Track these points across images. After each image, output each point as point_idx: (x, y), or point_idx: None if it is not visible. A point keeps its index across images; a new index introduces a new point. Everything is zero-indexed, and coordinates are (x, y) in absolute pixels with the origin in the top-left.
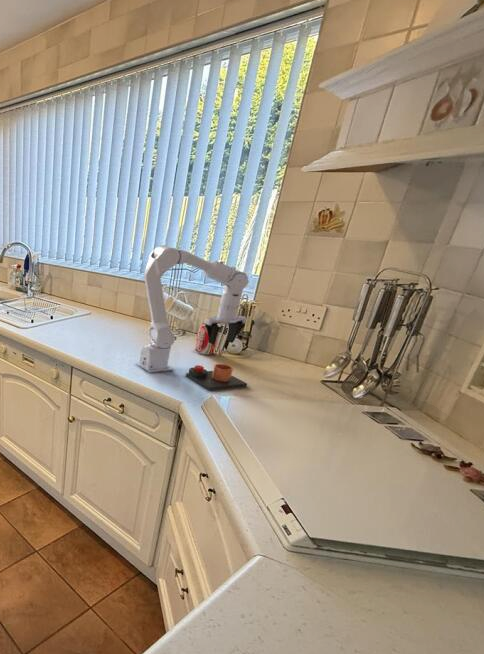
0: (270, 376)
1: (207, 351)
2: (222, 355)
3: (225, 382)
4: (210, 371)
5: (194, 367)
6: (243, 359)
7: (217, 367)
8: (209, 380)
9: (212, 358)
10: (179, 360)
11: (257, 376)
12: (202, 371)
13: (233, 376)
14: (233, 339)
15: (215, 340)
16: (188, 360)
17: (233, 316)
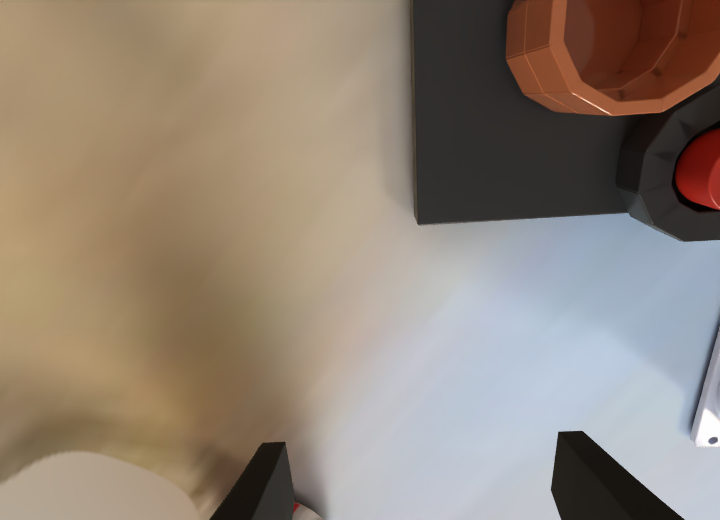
0: (56, 99)
1: None
2: (190, 478)
3: None
4: (529, 206)
5: (691, 238)
6: (89, 407)
7: (623, 99)
8: None
9: None
10: (524, 453)
11: (162, 116)
12: (716, 132)
13: (418, 71)
14: (260, 475)
15: (597, 469)
16: (465, 444)
17: None
